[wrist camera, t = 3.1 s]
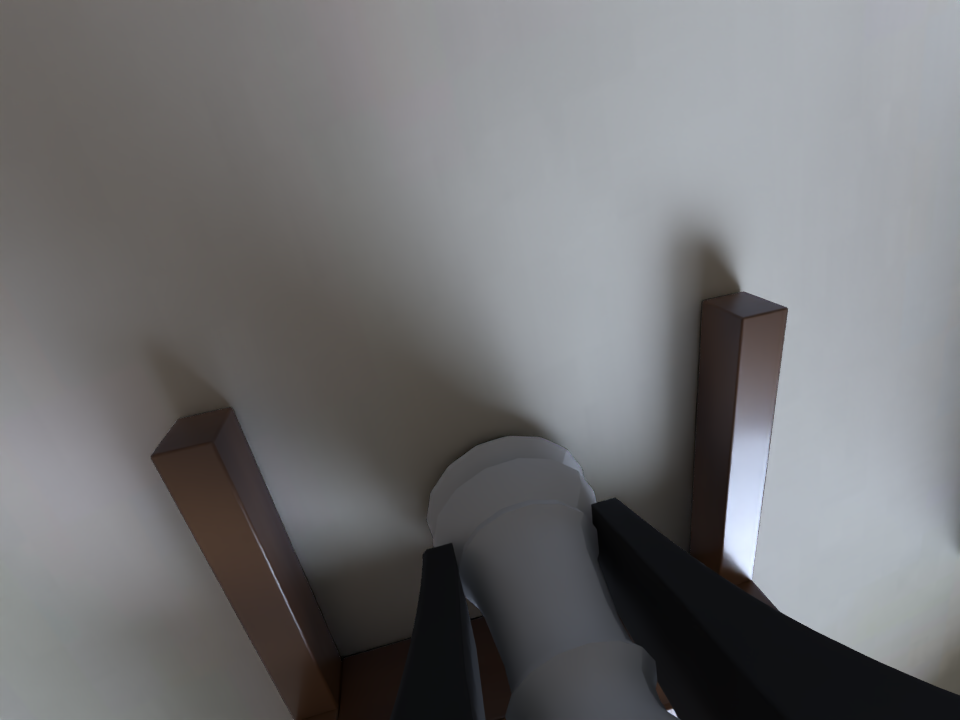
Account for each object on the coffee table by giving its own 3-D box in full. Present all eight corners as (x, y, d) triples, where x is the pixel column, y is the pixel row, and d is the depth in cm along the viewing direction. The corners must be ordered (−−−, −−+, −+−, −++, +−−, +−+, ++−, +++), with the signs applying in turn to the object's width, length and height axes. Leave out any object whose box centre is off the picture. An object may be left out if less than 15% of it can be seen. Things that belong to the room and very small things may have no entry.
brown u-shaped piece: (176, 418, 11) (75, 555, 7) (743, 290, 12) (897, 346, 9) (374, 815, 18) (374, 978, 15) (707, 701, 20) (781, 822, 16)
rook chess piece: (504, 394, 12) (701, 751, 5) (609, 477, 14) (865, 827, 7) (389, 512, 13) (413, 977, 6) (504, 577, 15) (633, 988, 7)
